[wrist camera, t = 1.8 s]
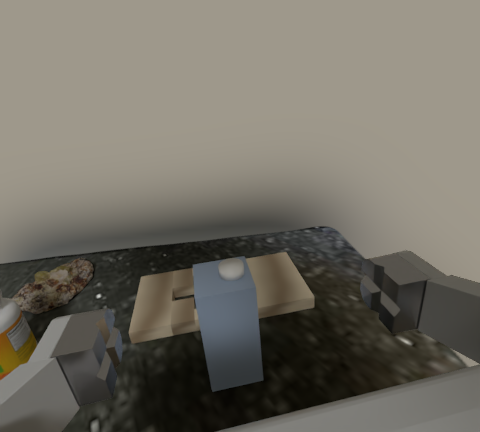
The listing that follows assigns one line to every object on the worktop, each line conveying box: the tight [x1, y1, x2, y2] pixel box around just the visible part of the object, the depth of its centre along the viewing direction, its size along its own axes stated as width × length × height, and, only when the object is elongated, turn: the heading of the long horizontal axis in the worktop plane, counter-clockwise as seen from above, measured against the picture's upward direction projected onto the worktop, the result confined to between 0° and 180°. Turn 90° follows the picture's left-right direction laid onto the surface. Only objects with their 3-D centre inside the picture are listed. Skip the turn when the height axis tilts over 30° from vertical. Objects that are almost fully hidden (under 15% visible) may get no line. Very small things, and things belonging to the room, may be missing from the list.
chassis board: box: [129, 252, 314, 344], centre depth 36 cm, size 20×10×2 cm, turn 100°
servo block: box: [193, 256, 263, 392], centre depth 25 cm, size 4×4×11 cm
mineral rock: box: [11, 258, 94, 314], centre depth 40 cm, size 11×4×8 cm
